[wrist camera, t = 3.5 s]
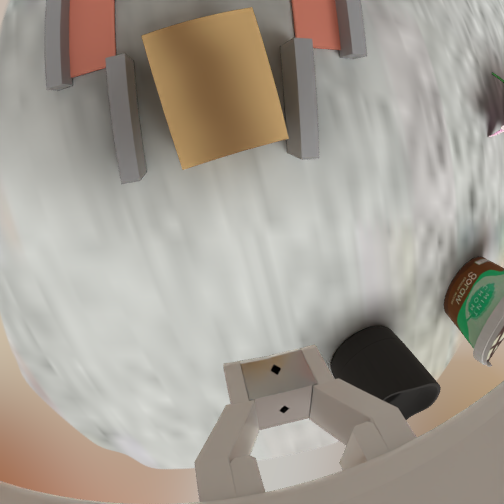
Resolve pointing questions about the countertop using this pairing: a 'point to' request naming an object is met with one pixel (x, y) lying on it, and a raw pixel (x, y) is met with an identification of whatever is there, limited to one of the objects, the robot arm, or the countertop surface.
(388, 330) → the pen holder
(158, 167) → the countertop surface
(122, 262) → the countertop surface
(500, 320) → the food container
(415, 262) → the countertop surface
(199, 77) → the honey block
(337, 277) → the countertop surface
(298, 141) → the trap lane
